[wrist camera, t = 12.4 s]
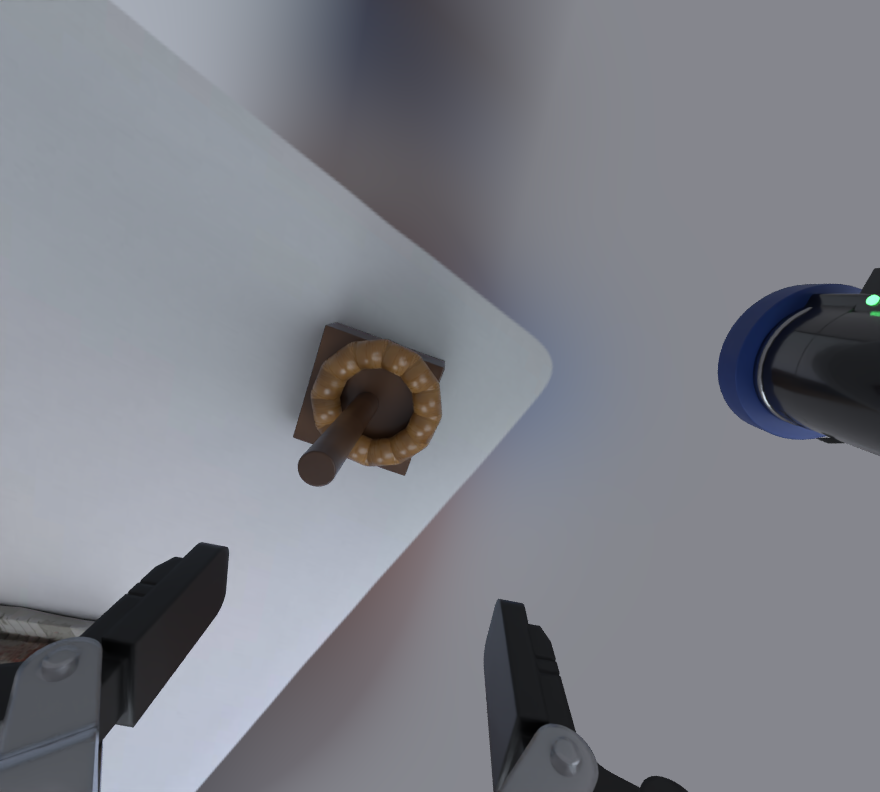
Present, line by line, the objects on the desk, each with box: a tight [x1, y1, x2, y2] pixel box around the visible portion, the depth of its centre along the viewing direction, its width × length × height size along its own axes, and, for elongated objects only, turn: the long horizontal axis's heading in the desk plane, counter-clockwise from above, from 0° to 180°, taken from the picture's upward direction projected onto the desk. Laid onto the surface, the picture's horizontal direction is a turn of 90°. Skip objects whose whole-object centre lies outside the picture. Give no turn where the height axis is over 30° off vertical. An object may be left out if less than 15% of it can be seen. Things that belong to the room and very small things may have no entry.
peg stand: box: [293, 323, 445, 487], centre depth 27 cm, size 9×9×15 cm
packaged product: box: [0, 606, 95, 664], centre depth 39 cm, size 18×5×10 cm
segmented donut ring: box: [311, 339, 442, 466], centre depth 30 cm, size 9×9×2 cm
